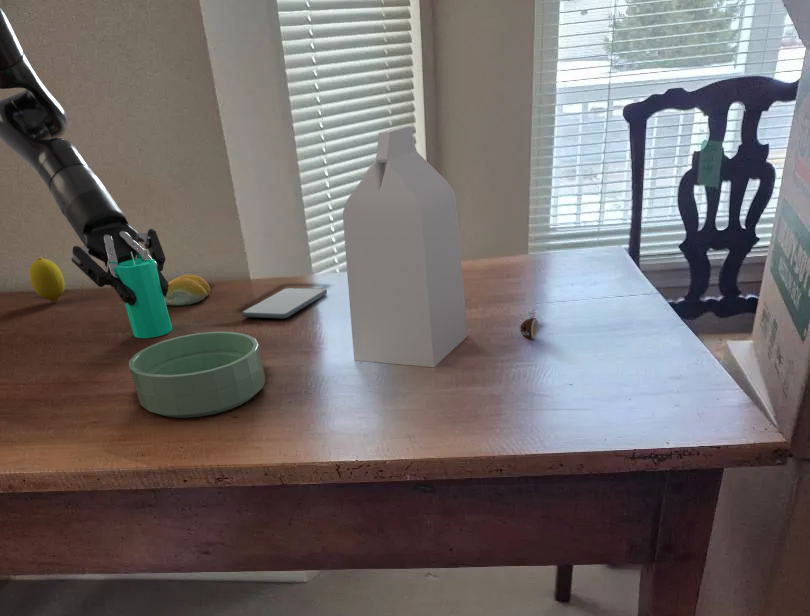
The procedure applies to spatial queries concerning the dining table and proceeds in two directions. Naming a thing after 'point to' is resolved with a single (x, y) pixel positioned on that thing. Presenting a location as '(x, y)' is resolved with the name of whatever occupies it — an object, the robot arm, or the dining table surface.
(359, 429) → the dining table surface
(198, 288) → the bread roll
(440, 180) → the milk
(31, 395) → the dining table surface
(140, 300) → the candle
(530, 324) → the chocolate
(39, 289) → the lemon
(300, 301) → the smartphone
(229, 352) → the bowl
